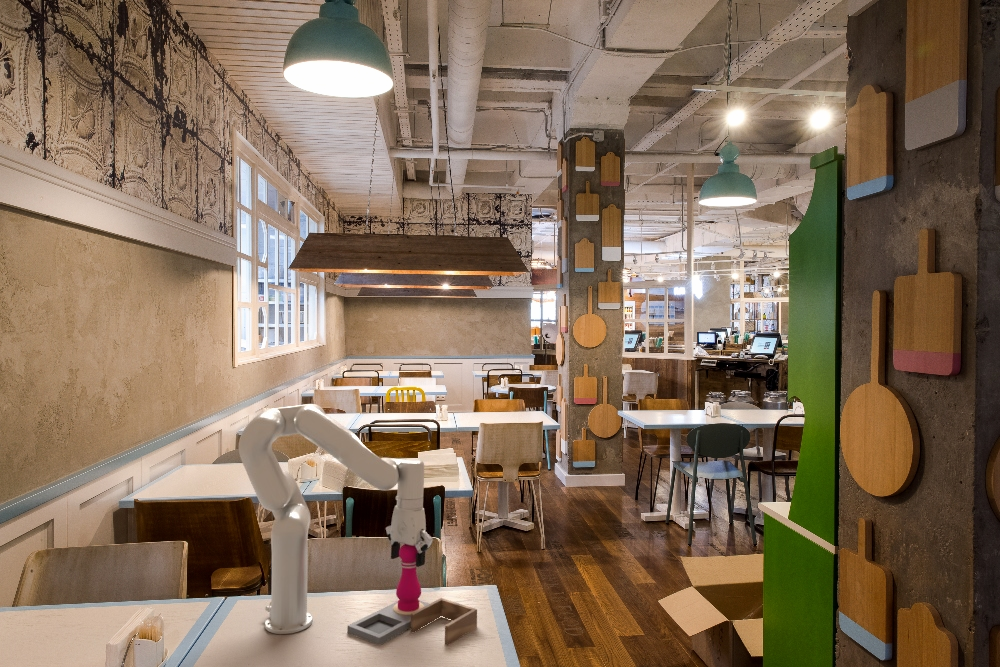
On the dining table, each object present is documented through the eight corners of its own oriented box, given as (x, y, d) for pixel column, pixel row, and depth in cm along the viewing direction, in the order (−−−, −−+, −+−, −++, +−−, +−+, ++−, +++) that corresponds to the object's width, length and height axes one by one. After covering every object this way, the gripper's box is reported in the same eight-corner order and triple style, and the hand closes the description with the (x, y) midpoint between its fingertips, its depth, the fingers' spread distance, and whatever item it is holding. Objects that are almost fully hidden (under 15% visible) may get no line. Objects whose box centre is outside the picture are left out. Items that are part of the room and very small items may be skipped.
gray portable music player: (347, 632, 175) (347, 624, 175) (407, 603, 194) (407, 595, 194) (379, 645, 168) (379, 636, 168) (437, 613, 188) (438, 605, 188)
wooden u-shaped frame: (410, 631, 176) (410, 613, 176) (440, 615, 186) (441, 597, 186) (447, 645, 168) (447, 626, 168) (476, 627, 179) (477, 609, 179)
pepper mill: (408, 614, 181) (409, 544, 181) (390, 608, 185) (391, 538, 186) (426, 606, 187) (427, 537, 187) (408, 600, 191) (409, 532, 191)
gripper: (379, 499, 188) (376, 558, 188) (424, 510, 178) (421, 572, 178) (397, 495, 194) (394, 551, 194) (441, 505, 184) (438, 565, 184)
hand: (407, 561), depth 186 cm, fingers open, 9 cm apart
